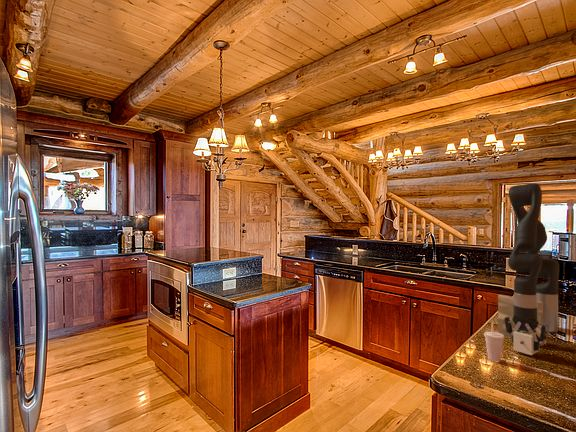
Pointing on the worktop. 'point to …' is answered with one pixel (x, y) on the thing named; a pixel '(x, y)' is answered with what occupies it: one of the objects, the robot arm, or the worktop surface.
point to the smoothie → (494, 344)
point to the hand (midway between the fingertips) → (525, 347)
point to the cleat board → (507, 310)
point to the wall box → (523, 342)
